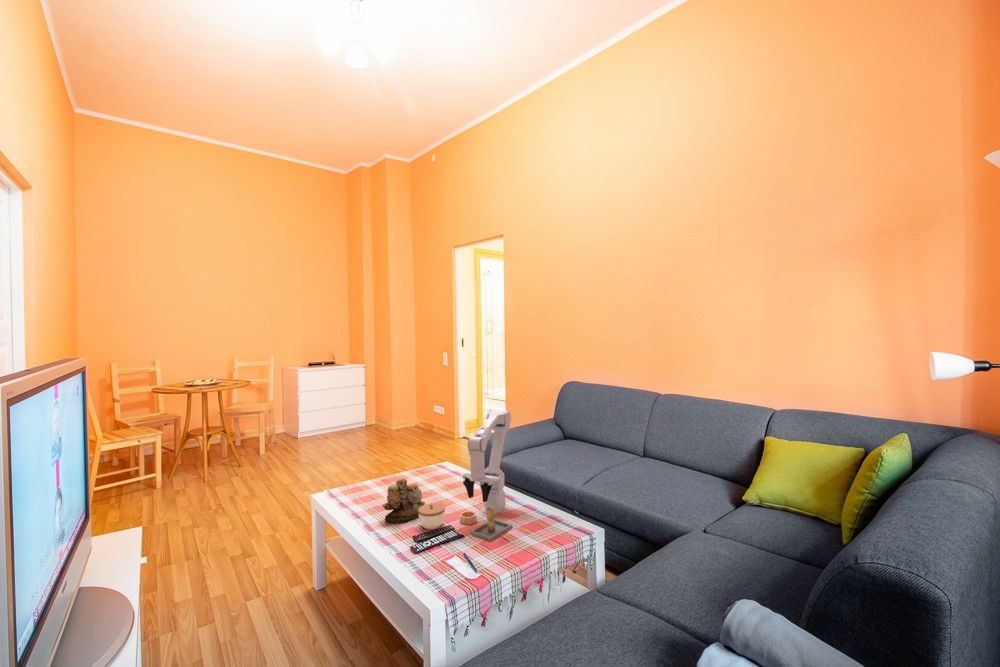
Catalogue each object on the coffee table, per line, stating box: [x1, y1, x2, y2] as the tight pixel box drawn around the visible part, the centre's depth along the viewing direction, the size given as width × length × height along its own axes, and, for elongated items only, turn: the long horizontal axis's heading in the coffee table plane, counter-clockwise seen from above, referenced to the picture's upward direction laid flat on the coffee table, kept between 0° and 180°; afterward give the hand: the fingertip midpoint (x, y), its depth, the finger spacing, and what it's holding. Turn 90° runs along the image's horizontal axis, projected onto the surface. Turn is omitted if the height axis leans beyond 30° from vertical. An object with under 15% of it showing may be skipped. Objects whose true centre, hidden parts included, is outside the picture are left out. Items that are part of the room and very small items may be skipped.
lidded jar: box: [418, 502, 446, 530], centre depth 189 cm, size 11×11×9 cm
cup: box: [459, 510, 477, 525], centre depth 193 cm, size 7×7×3 cm
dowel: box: [486, 507, 496, 533], centre depth 183 cm, size 3×3×9 cm
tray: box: [469, 519, 513, 542], centre depth 183 cm, size 14×10×2 cm
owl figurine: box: [382, 477, 426, 525], centre depth 200 cm, size 18×12×17 cm, turn 119°
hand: (478, 499), depth 191 cm, fingers open, 7 cm apart
